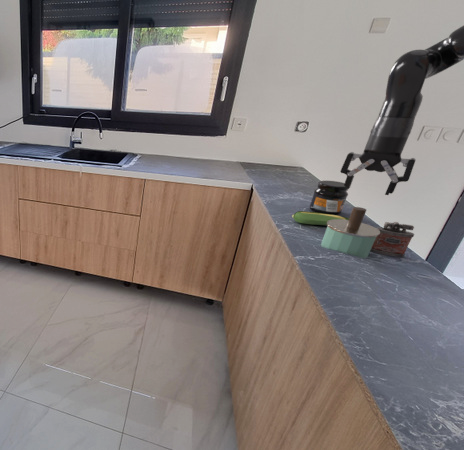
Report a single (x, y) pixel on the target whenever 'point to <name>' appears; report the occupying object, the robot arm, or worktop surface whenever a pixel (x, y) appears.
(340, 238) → the green faceted pot
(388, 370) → the worktop surface
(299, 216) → the edible corn
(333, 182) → the supplement container
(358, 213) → the lid
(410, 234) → the lighter
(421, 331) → the worktop surface
